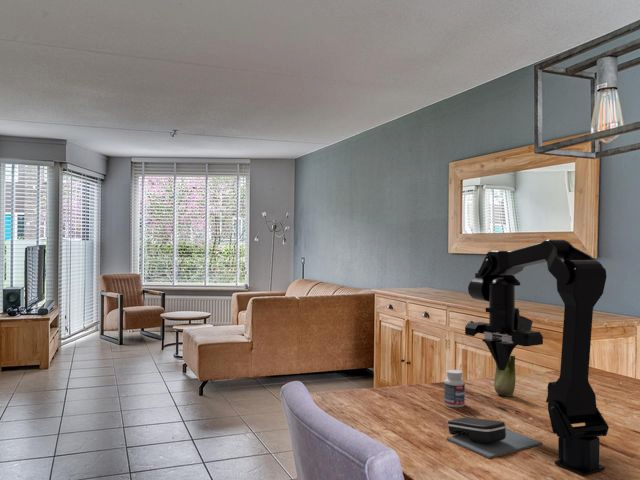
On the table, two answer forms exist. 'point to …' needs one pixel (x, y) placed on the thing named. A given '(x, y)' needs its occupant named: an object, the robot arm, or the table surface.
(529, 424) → the table surface
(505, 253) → the robot arm
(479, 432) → the battery charger
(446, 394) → the pill bottle
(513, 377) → the fennel bulb
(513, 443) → the gray mat
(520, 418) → the table surface
